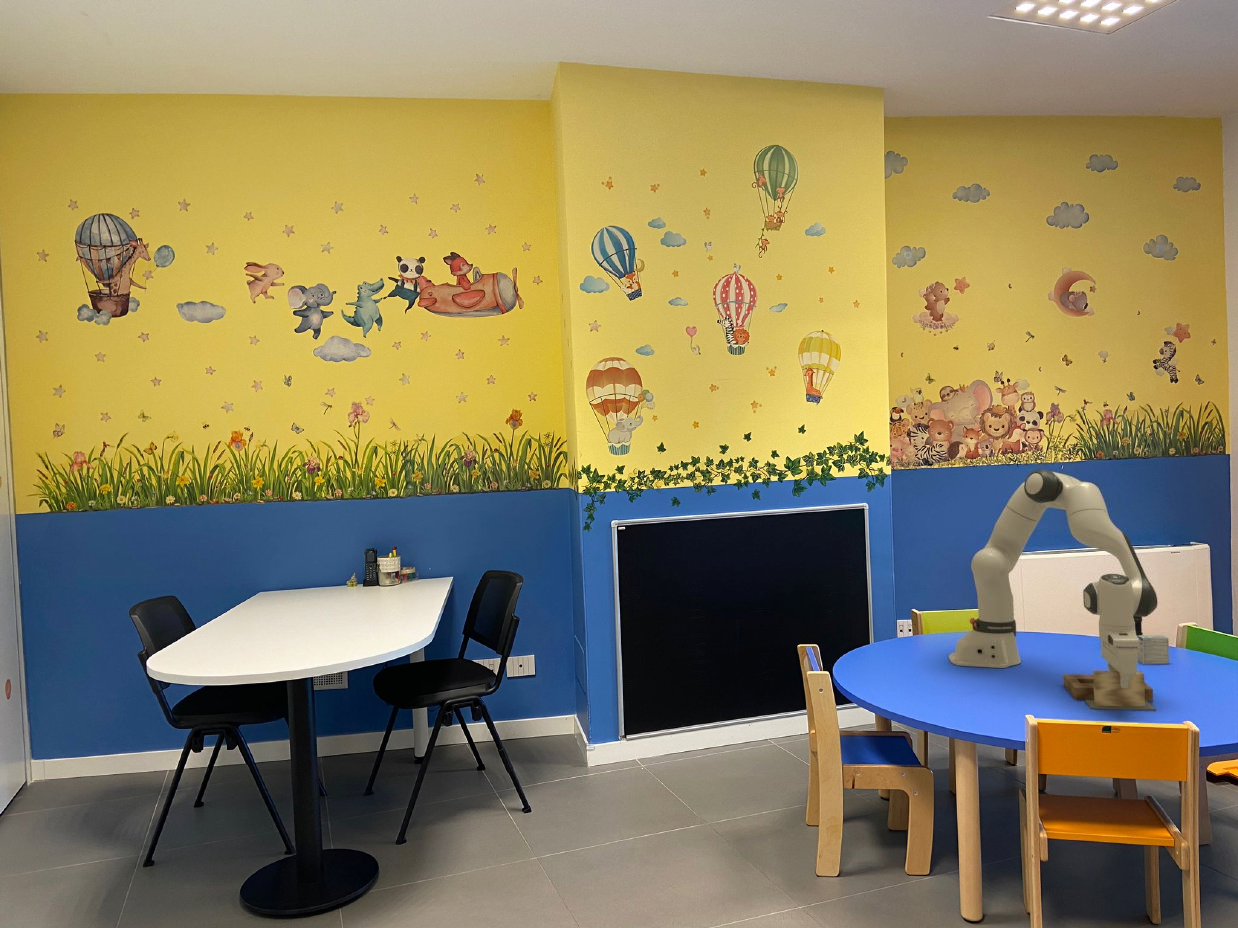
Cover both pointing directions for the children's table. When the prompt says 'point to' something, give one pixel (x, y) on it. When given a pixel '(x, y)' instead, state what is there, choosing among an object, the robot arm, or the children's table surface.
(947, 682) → the children's table surface
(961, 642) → the robot arm
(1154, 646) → the medicine box
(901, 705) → the children's table surface
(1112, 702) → the oak cover plate
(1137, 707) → the grey flat slab
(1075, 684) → the walnut case
